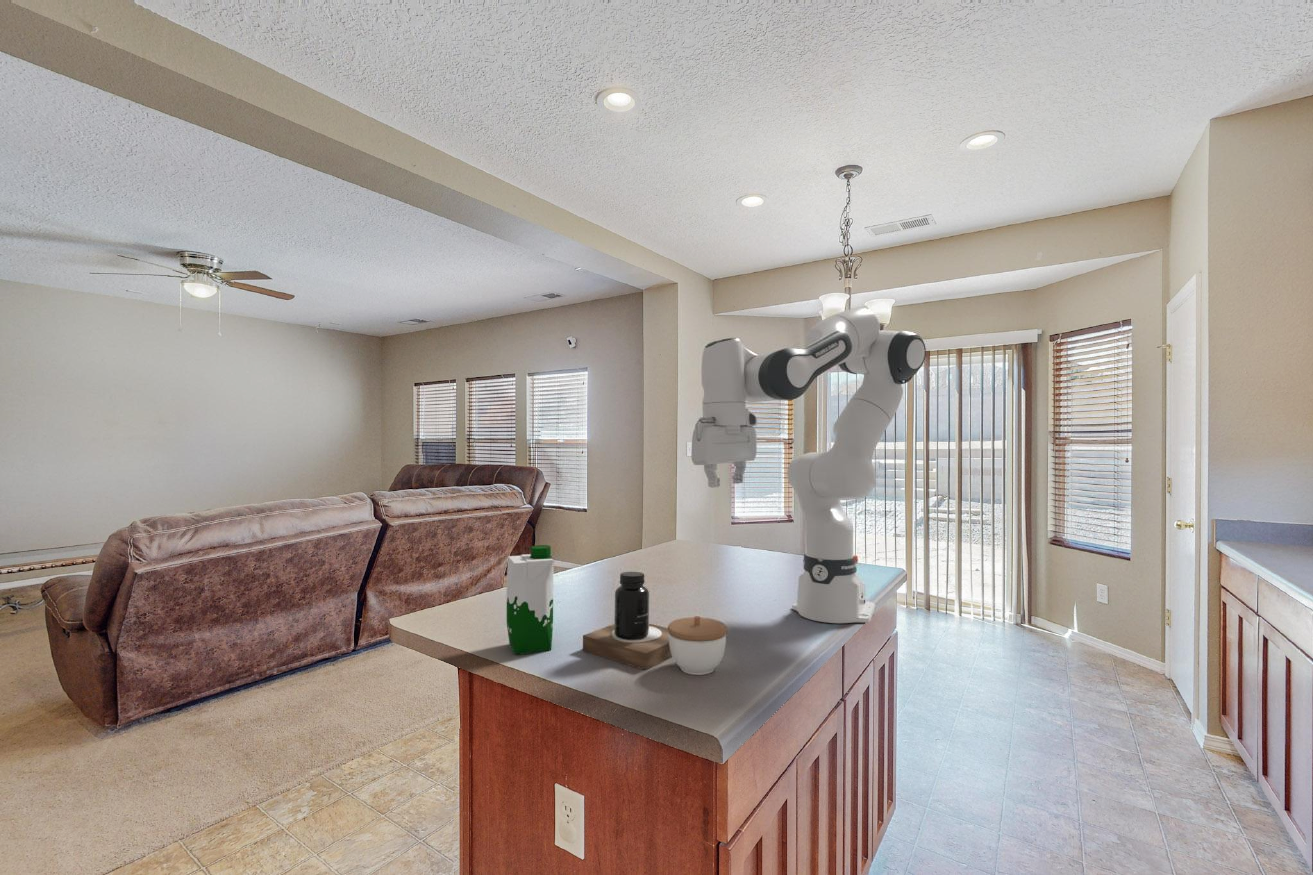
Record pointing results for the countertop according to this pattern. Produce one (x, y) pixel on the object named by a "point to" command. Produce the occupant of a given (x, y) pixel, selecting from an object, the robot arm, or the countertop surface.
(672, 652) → the lidded jar
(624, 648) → the brown flat wooden block
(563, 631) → the countertop surface
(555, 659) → the countertop surface
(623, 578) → the supplement bottle
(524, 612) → the milk carton
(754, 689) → the countertop surface
